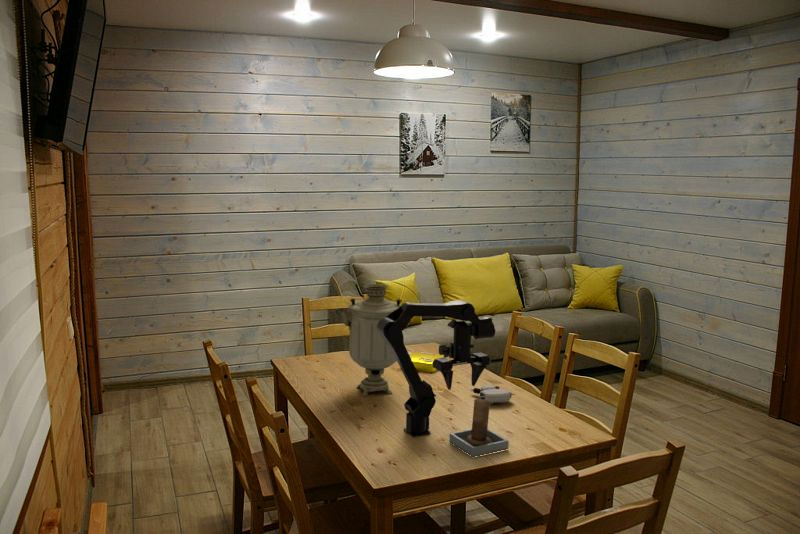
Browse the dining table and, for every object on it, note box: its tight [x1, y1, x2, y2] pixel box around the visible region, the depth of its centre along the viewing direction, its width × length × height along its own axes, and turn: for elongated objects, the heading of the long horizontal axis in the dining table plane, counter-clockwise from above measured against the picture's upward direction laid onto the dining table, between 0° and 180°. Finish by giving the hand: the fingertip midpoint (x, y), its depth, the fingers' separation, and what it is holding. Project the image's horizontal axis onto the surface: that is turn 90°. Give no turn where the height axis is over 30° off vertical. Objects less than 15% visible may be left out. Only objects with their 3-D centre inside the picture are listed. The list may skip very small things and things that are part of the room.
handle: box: [467, 398, 491, 447], centre depth 200 cm, size 7×7×13 cm
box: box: [449, 428, 510, 458], centre depth 200 cm, size 13×13×3 cm
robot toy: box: [470, 384, 516, 405], centre depth 243 cm, size 12×4×15 cm
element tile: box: [409, 351, 444, 373], centre depth 284 cm, size 15×15×5 cm
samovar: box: [335, 283, 412, 397], centre depth 251 cm, size 30×26×40 cm
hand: (461, 387), depth 214 cm, fingers open, 9 cm apart
